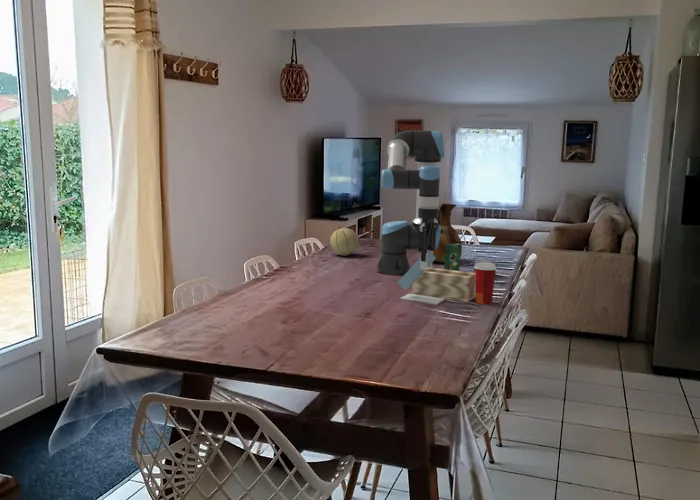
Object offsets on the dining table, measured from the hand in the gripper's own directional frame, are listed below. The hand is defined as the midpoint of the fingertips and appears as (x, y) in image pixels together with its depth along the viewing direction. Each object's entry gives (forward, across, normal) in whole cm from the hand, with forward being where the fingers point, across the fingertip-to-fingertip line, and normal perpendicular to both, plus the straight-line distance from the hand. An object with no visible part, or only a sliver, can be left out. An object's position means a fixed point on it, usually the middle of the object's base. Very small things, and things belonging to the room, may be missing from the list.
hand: (426, 268), depth 248 cm
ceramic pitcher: (+13, -76, -23) cm, 80 cm away
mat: (+13, 0, -1) cm, 13 cm away
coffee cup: (+13, -9, +20) cm, 26 cm away
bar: (+3, 0, -2) cm, 3 cm away
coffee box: (+13, -56, -10) cm, 58 cm away
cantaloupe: (+13, -63, -72) cm, 97 cm away
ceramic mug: (+13, -57, +6) cm, 58 cm away
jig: (+13, -11, +4) cm, 17 cm away
